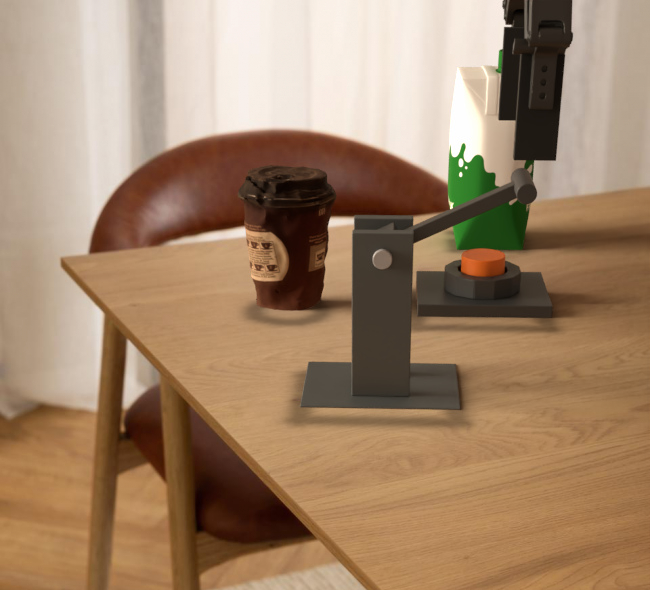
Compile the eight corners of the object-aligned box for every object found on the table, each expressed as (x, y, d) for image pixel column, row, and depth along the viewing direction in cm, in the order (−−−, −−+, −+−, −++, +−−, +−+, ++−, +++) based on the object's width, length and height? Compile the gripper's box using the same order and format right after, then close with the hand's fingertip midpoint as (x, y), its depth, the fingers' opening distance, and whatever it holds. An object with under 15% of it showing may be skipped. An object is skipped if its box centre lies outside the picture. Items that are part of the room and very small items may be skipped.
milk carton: (532, 253, 127) (547, 56, 118) (447, 252, 127) (456, 56, 118) (523, 230, 135) (536, 44, 125) (443, 230, 135) (451, 45, 126)
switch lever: (535, 188, 87) (523, 158, 86) (542, 205, 83) (530, 174, 82) (373, 260, 90) (360, 232, 89) (371, 280, 86) (357, 251, 85)
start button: (502, 266, 111) (503, 248, 110) (505, 279, 107) (507, 261, 106) (459, 266, 111) (460, 248, 110) (461, 279, 108) (462, 260, 107)
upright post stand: (455, 377, 96) (463, 208, 90) (459, 423, 88) (468, 242, 82) (308, 374, 97) (305, 207, 91) (300, 420, 89) (296, 240, 83)
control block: (539, 293, 115) (542, 253, 113) (550, 329, 106) (554, 286, 104) (415, 292, 116) (416, 252, 114) (416, 327, 107) (418, 285, 105)
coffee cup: (271, 333, 106) (267, 187, 100) (225, 307, 112) (219, 169, 106) (351, 314, 110) (352, 173, 104) (303, 291, 116) (301, 157, 110)
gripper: (650, -228, 62) (605, 180, 72) (584, -204, 84) (558, 106, 94) (505, -228, 62) (481, 179, 72) (478, -203, 84) (462, 105, 94)
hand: (524, 138), depth 83 cm, fingers open, 13 cm apart
